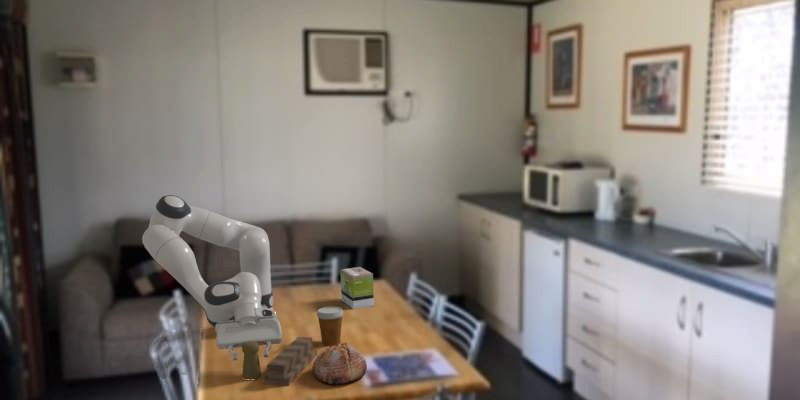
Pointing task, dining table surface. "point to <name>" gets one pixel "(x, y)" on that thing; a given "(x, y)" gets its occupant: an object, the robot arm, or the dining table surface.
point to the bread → (339, 364)
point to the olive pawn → (251, 361)
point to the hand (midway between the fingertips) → (250, 358)
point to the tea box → (357, 287)
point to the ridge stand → (290, 362)
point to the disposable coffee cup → (330, 324)
